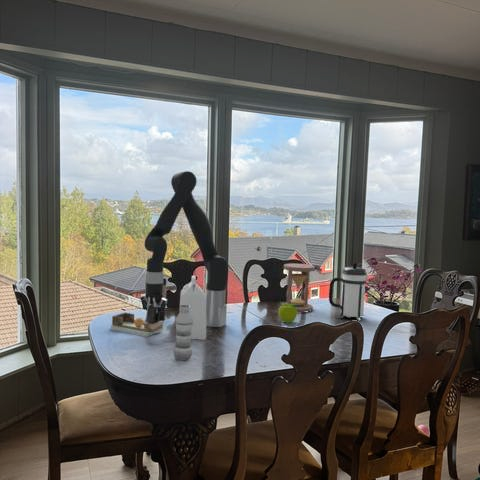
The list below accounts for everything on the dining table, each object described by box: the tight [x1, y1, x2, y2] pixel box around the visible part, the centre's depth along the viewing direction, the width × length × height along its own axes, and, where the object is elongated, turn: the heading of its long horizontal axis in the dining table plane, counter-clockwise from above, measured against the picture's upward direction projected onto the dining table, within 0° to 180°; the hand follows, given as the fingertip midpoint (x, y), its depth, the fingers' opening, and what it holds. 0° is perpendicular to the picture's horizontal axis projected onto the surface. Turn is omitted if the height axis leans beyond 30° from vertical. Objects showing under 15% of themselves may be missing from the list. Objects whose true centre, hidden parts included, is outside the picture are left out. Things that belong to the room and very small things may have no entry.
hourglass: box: [281, 263, 316, 312], centre depth 262 cm, size 18×18×25 cm
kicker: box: [144, 305, 164, 331], centre depth 204 cm, size 5×7×10 cm
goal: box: [111, 312, 135, 327], centre depth 211 cm, size 6×8×4 cm, turn 155°
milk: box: [178, 275, 207, 340], centre depth 202 cm, size 12×12×26 cm
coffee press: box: [328, 262, 370, 318], centre depth 246 cm, size 17×16×30 cm
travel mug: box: [160, 277, 167, 322], centre depth 227 cm, size 8×8×20 cm
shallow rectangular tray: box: [109, 319, 164, 337], centre depth 208 cm, size 20×12×2 cm, turn 65°
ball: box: [134, 317, 145, 327], centre depth 207 cm, size 4×4×4 cm
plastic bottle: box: [173, 305, 193, 361], centre depth 171 cm, size 6×7×20 cm
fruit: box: [278, 301, 298, 323], centre depth 232 cm, size 9×9×10 cm
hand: (153, 320), depth 204 cm, fingers closed on kicker, 3 cm apart
